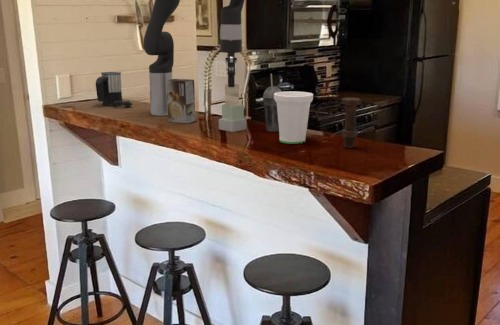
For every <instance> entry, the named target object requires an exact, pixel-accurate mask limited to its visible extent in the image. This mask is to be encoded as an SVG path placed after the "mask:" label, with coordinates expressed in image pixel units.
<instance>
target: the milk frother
mask: <svg viewBox="0 0 500 325" xmlns="http://www.w3.org/2000/svg"><path fill="white" fill-rule="evenodd" d="M100 74H101V76H99V77H97V78H96V80H95V91H96V99H97V101H98V102H101V103H102V106H105V107H118V106H124V107H126V108H130V106H131V107H132V106H133V103H132V102H130V100H129V101H126V100H125V101H124V100H123V94H122V91H123V90H122V78H121V76H122V72H120V71H103V72H100Z"/></svg>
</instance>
